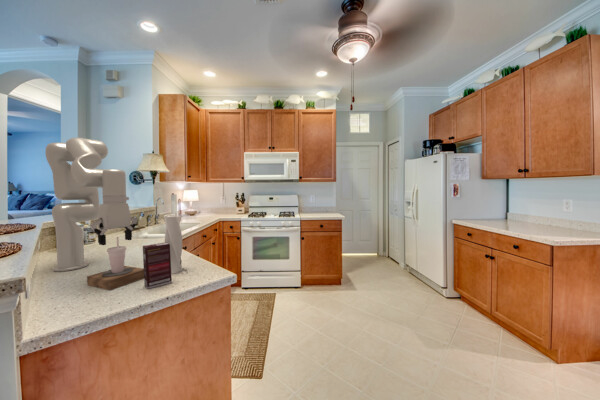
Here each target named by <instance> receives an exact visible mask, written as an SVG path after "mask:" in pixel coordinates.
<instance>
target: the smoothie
mask: <svg viewBox="0 0 600 400" xmlns="http://www.w3.org/2000/svg"><path fill="white" fill-rule="evenodd" d="M119 240H120V239H119V236H116V246H113V247H108V248H107V249H106V252H107V254H108V260H109V264H110V270H112V273H118V272H122V271H123V270H124V266H125V259H126V250H127V246H125V245H121V246H120V244H119V242H120V241H119Z"/></svg>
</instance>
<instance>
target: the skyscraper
mask: <svg viewBox="0 0 600 400" xmlns="http://www.w3.org/2000/svg"><path fill="white" fill-rule="evenodd" d="M177 213H179V215H177ZM163 219H164V222H165V223H164V224H165V232H164V242H167V243H169V244H170V257H171V275H175V274H179V273H182V272H187V271H188V270H187V269H185V268H183V267H182V252H183V234H182V228H181V226H180V223H181V220H182V213H181V212H180V211H179V210H176V211H175V212H174V213H171V214H165V215H163Z"/></svg>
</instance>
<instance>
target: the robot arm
mask: <svg viewBox="0 0 600 400" xmlns="http://www.w3.org/2000/svg"><path fill="white" fill-rule="evenodd" d="M108 153H109V150H108V146H107V144H106V143H104V142H103V141H101V140H97V139H92V138H91V139H90V138H85V137H71V138H69V139H67V140H66V141H65V142H50V143H48V144H47V145H46V146H45V158H46V161H47V164H48V165H49V167H50V169H51V171H52V172H51V173H52V180H53V181H52V183H53V190H54V196H55V198H56V199H58V200H61V201H79V200H80V201H81V200H82V202H63V203H58V204H56V205H54V206H53V207H52V209H51V217H52V219H53V223H54V230H55V240H56V243H55V244H56V245H55V246H56V265H55V266H54V267H52V271H53V272H67V271H73V270H79V269H82V268H85V267H88V265H89V261H85V249H84V248H85V247H84V245H85V244H84V230H83V228H82V227H81V226H79V225H78V223H80V222H90V221H93V222H92V223H90V224H89V225H88V226H89V228H90V229H91V231H92V232H93V233H95V234H96V236H97V243H98V245H100V246H106V245H107V239H106V238H107V237H106V236H107V235H106V234H105V233H106V232H107V231H108V230H114V229H121V228H124V240H125V241H132V238H133V231H134V228H135V227H136V226H137V223H138V219H137V218H136V217H133V216H131V210H130V206H129V203H128V202H127V201H129V200H130V197H129V196H127V184H126V183H127V181H126V180H127V179H126V178H127V177H126V172H125V171H124V170H122V169H114V168H113V169H112V168H109V169H107V168H106V169H103V168H97V167H99V166H100V165H101V163H102V160H104V159H105V158H106V157H107V156H108ZM69 162H71V164H70V163H69ZM98 188H99V189H102V190H101V191H102V203H100V198H99V189H98ZM83 201H84V202H83ZM97 227H98V228H97Z"/></svg>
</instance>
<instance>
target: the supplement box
mask: <svg viewBox="0 0 600 400" xmlns="http://www.w3.org/2000/svg"><path fill="white" fill-rule="evenodd" d="M142 256H143V257H142V258H143V260H142V261H143V263H142V264H143V269H144V279H143V282H144V287H145V288H146V289H147V290H149V289H154V288H157V287H161V286H165V285H169V284H172V279H173V278H172V274H171V257H170V244H169V243H167V242H165V241H164V242H159V243H153V244H146V245H142Z"/></svg>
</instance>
